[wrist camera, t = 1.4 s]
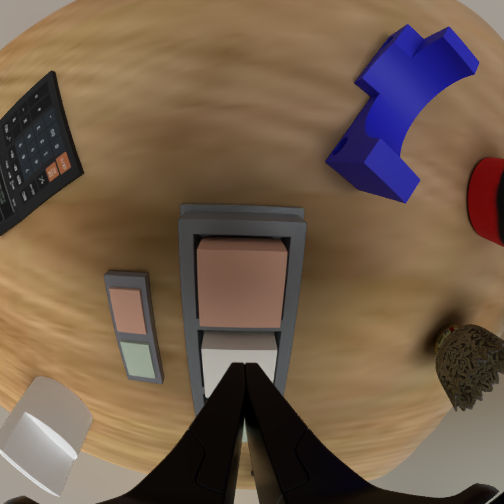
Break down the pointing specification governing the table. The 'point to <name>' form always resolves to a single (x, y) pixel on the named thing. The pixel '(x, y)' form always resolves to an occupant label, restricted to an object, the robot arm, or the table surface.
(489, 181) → the soda can
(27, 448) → the cylinder with rectangular tab
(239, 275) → the terracotta key
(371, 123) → the cable clip
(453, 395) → the cup
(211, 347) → the cream key
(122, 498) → the robot arm
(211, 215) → the keypad
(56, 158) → the calculator
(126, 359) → the strip
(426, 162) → the table surface
